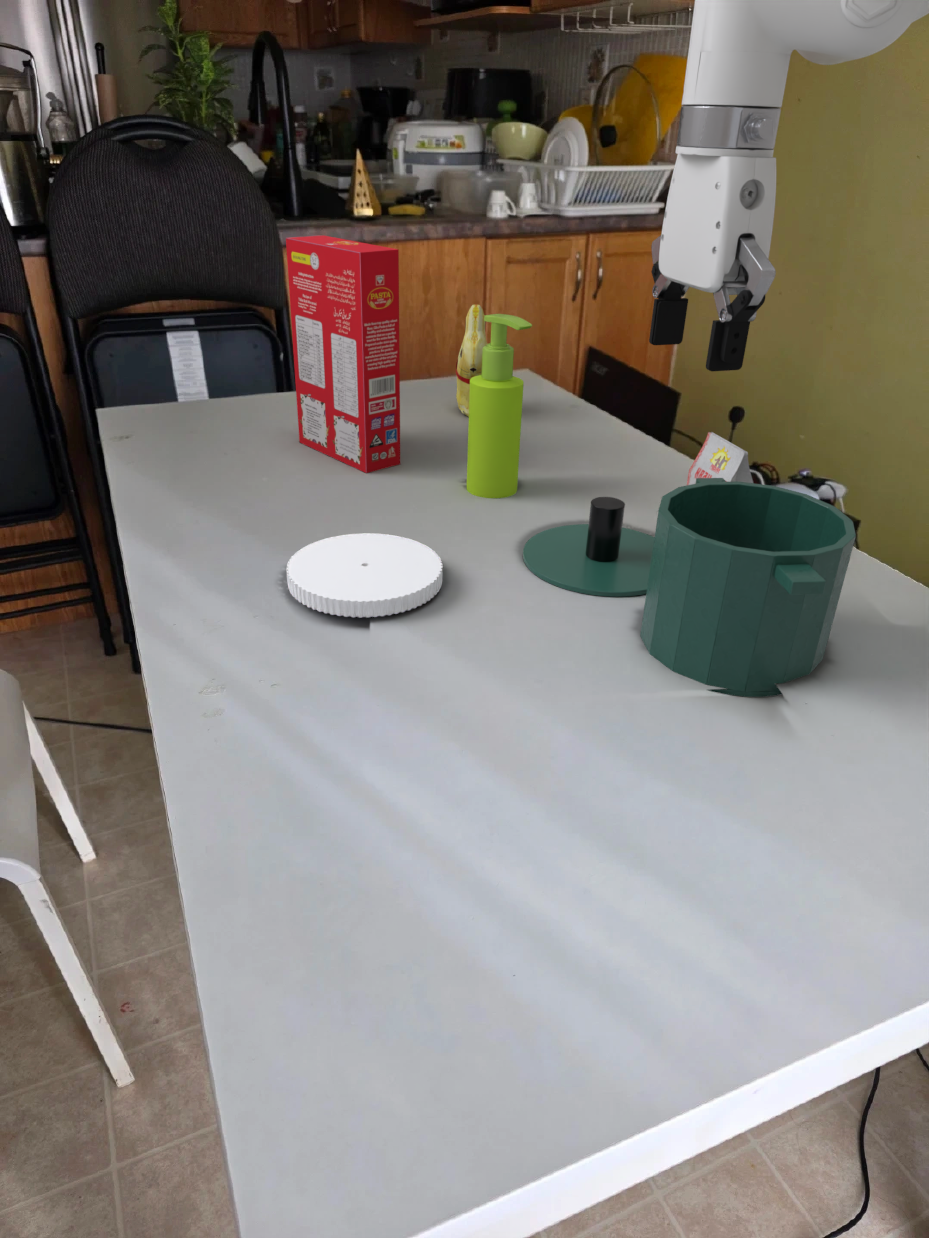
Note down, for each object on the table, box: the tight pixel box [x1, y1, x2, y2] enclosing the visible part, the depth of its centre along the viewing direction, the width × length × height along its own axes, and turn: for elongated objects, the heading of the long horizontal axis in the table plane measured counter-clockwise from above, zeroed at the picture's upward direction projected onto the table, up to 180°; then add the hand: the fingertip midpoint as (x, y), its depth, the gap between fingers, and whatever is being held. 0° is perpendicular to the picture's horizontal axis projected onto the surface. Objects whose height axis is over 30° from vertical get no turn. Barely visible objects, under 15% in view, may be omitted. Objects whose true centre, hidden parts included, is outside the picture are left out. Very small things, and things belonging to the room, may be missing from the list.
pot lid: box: [522, 496, 655, 598], centre depth 85 cm, size 15×15×7 cm
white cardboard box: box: [686, 431, 754, 486], centre depth 92 cm, size 4×7×10 cm, turn 18°
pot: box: [639, 478, 857, 698], centre depth 71 cm, size 14×20×12 cm
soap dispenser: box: [466, 313, 533, 499], centre depth 97 cm, size 6×7×20 cm
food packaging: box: [285, 234, 401, 474], centre depth 107 cm, size 15×5×25 cm, turn 42°
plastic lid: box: [285, 532, 444, 618], centre depth 80 cm, size 14×14×2 cm
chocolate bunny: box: [455, 304, 488, 418], centre depth 128 cm, size 7×11×15 cm, turn 178°
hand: (692, 356), depth 78 cm, fingers open, 9 cm apart
